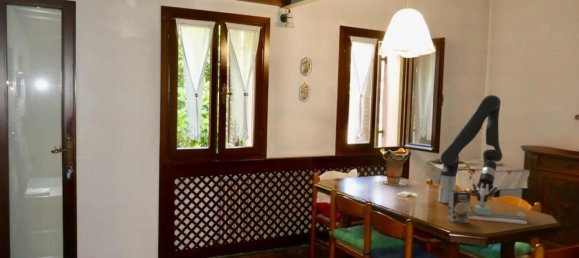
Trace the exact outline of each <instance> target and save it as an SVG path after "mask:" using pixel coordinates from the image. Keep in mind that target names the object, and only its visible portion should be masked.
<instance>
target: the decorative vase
mask: <svg viewBox="0 0 579 258" xmlns="http://www.w3.org/2000/svg"><path fill="white" fill-rule="evenodd" d="M379 152H380V153H381V157H382V159H383V160H384V161H385V162H386V175H385V177H386V180H382V181H381V183H382V184H384V185H390V186H397V187H401V186H406V184H405V183H404V182H402V181H401V179H402V175H403V169H404V168H403V166H404V163H405V162H406V161H407V160H408V158H409V156H410V152H411V150H410V149H409V148H406V149H404V147H400V148H398V150H395V151H392V150H391V149H388V150H387V151H385V148H381V149H380V150H379Z"/></svg>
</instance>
